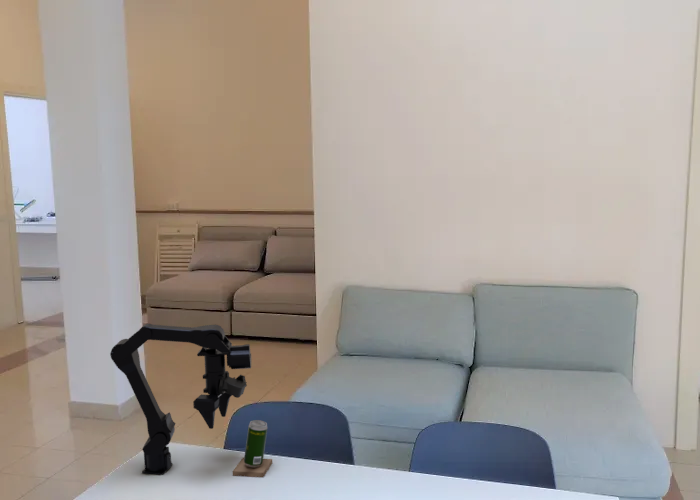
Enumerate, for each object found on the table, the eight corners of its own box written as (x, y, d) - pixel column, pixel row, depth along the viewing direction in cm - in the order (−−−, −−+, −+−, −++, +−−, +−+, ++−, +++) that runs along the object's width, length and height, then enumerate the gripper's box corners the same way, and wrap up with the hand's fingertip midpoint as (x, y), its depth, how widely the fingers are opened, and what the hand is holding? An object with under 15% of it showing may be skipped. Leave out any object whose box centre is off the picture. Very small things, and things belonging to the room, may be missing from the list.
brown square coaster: (232, 477, 180) (232, 471, 180) (242, 464, 189) (242, 457, 189) (263, 479, 179) (263, 472, 179) (272, 465, 188) (272, 458, 187)
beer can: (266, 466, 183) (271, 425, 182) (249, 469, 180) (255, 428, 179) (256, 458, 187) (261, 418, 186) (240, 461, 184) (245, 421, 183)
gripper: (230, 380, 173) (232, 436, 175) (253, 361, 191) (254, 412, 193) (191, 379, 175) (194, 434, 177) (217, 360, 193) (219, 410, 195)
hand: (217, 422), depth 185 cm, fingers open, 9 cm apart
